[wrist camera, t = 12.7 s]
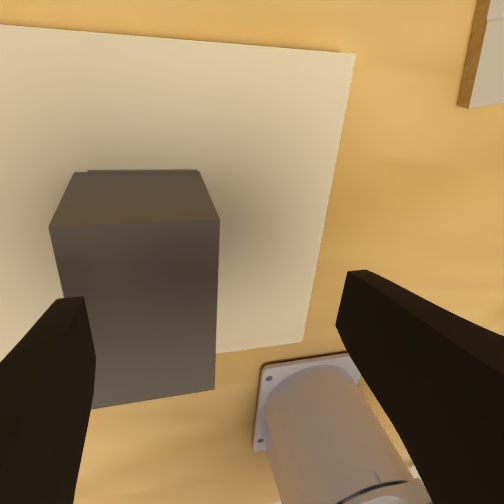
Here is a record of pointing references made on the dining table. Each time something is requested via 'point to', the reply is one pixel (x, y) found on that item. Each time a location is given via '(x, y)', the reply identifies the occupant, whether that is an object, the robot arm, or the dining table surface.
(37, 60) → the board
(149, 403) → the dining table surface
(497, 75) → the baseboard molding
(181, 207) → the block
